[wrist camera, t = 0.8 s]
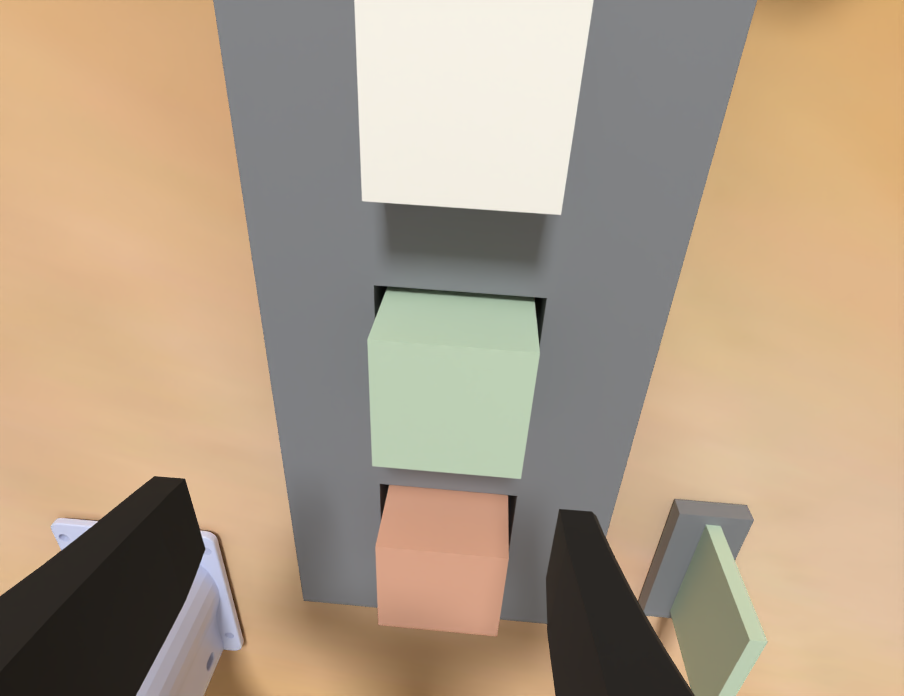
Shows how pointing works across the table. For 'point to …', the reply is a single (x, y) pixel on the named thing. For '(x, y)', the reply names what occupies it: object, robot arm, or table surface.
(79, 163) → the table surface
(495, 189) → the cream block
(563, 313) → the button board
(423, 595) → the terracotta block
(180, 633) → the robot arm
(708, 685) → the card
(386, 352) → the sage block
